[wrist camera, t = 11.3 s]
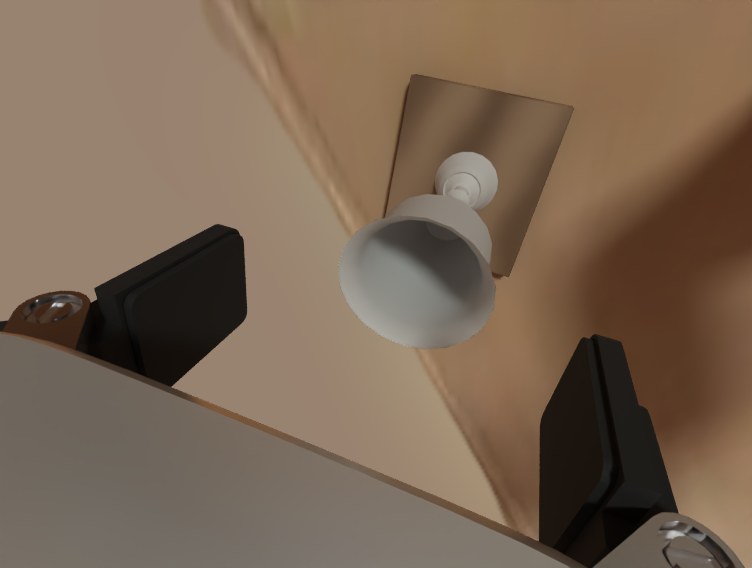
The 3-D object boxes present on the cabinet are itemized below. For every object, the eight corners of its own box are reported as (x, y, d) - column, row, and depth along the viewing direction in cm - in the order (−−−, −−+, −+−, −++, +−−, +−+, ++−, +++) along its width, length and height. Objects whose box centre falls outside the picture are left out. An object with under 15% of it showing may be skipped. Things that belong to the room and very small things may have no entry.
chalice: (523, 149, 31) (516, 238, 16) (499, 231, 34) (475, 367, 20) (429, 132, 32) (343, 198, 18) (415, 212, 36) (333, 324, 21)
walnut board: (572, 106, 30) (574, 108, 29) (509, 269, 37) (508, 277, 36) (415, 74, 32) (411, 74, 31) (385, 234, 40) (381, 239, 38)
